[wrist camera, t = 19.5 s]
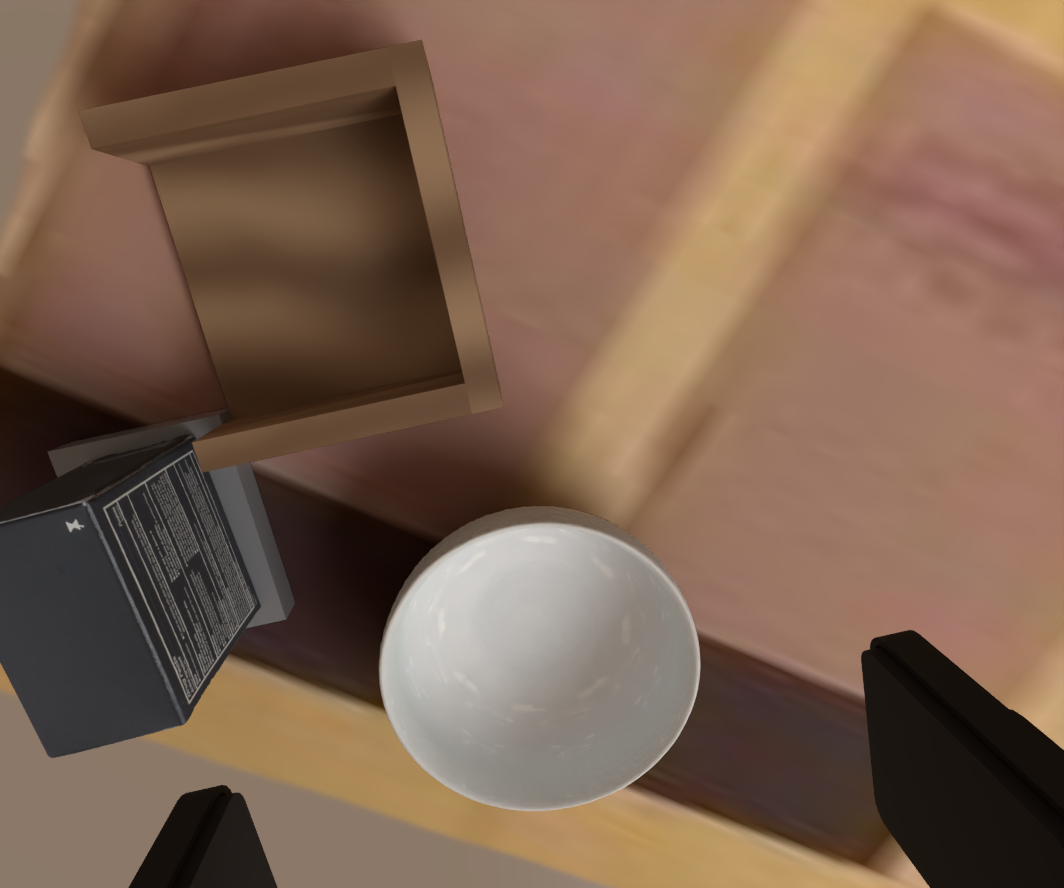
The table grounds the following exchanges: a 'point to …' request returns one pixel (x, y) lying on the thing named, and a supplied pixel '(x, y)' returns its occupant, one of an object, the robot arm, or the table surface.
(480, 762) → the cereal bowl
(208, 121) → the box
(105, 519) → the small box
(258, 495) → the slate stand
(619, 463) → the table surface
